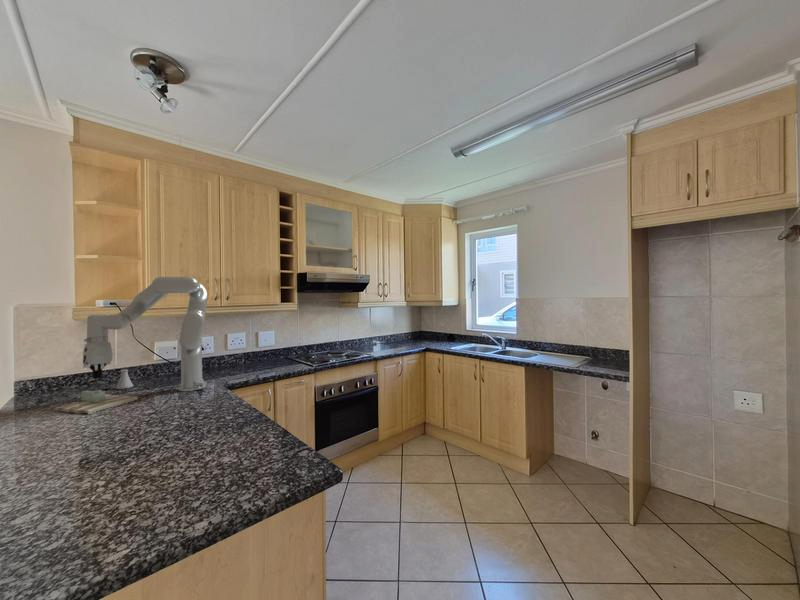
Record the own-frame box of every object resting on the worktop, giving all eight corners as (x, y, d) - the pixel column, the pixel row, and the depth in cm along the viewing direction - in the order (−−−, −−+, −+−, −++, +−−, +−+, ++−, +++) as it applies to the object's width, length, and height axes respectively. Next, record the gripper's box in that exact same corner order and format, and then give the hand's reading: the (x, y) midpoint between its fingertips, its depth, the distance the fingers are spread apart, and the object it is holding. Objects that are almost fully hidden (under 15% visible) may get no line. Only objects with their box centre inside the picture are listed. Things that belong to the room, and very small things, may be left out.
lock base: (137, 399, 157) (137, 396, 157) (88, 414, 137) (88, 410, 137) (106, 397, 162) (106, 394, 162) (55, 411, 142) (55, 407, 142)
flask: (123, 390, 176) (122, 371, 176) (112, 389, 177) (112, 371, 177) (136, 386, 183) (136, 368, 183) (126, 385, 184) (125, 368, 184)
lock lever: (108, 399, 151) (107, 389, 151) (96, 403, 147) (96, 392, 147) (88, 398, 154) (88, 388, 154) (76, 401, 150) (75, 390, 150)
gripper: (84, 342, 148) (84, 382, 148) (120, 338, 163) (119, 375, 163) (73, 341, 150) (72, 381, 150) (109, 338, 165) (108, 374, 165)
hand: (97, 378), depth 156 cm, fingers closed
